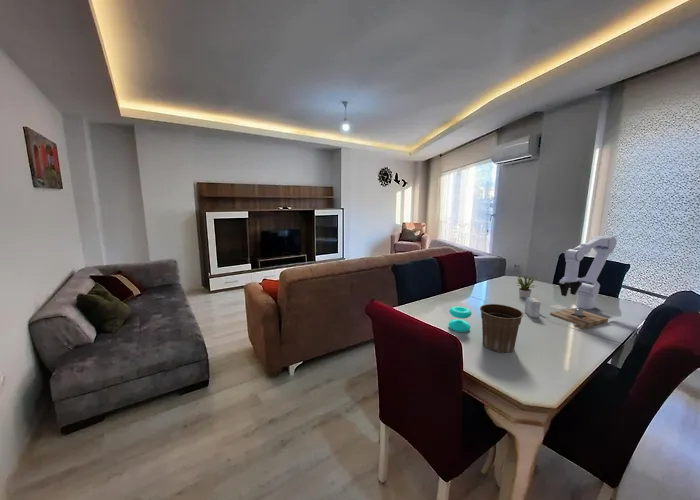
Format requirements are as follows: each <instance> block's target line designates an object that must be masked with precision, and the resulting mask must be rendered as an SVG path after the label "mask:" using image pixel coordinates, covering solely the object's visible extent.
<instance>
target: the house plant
mask: <svg viewBox="0 0 700 500" xmlns="http://www.w3.org/2000/svg"><path fill="white" fill-rule="evenodd" d="M522 276H523V278H524V281H523V280H522V278H521V277H520V276H519V275H517V278H516V279H517V282H516V284H518V285H516V286H517V287H519V288H518V294H519V295H518V297H519V298H524V299H526V298H531V294H532V289H530V288H532V287H535V286H536V285H535V284H533V283H534V281H536V280H541V278H538V277H535V278H534V275H531V276H530V277H529V278H528V279H527V276H526V275H524V274H522ZM531 284H532V285H531ZM536 287H537V286H536Z"/></svg>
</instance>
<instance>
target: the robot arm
mask: <svg viewBox="0 0 700 500" xmlns="http://www.w3.org/2000/svg"><path fill="white" fill-rule="evenodd" d="M616 246H617V238H616V237H615V236H606V235H597V234H594V235H593V236H591V238H590V240H589V241H588V242H587V243H580V244H579V245H578V246H576V247H574V248H569V249H567V250H566V251H565V253H564V258H565V262H566V263H565V268H564V269H565V270H564V276H563V277H562V278H561V279H559V281H558V282H557V285H558V286H559V289H560V294H561V296H562V297H567V296H568V292H569V291H570V295H574V296H575V295H576V303H575V306H576V308H580V309H583V310H584V309H585V310H592V309H595V308H596V307H597V295H598V294H599V292H600V288H601V284H600V283H599V282H598V277H599V276H600V274H601V272H602V269H603V268H604V266H605V264H606V261H607V259H608V257H609V255H610V254H611V253H613V252H614V250H615V249H616ZM592 249H593V250H594V251H595V252H596V254H595V257H594V259H593V261H592V263H591V265H590V267H589V268H588V271H587V273H586V275H585V276H583V277H578V276H579V268H580V262H581V261H582V260H583V259H584V257H585V256H586V255H587V254H590V253H591V251H592ZM569 289H570V290H569Z"/></svg>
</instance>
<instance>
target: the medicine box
mask: <svg viewBox="0 0 700 500" xmlns="http://www.w3.org/2000/svg"><path fill="white" fill-rule="evenodd" d="M540 309H541V302H540V300H538V299H537V298H535V297H529V298H525V305H524V313H526V314H527V315H528V316H529V317H530V318H540V311H541V310H540Z"/></svg>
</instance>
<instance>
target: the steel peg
mask: <svg viewBox="0 0 700 500" xmlns="http://www.w3.org/2000/svg"><path fill="white" fill-rule="evenodd" d="M574 308H575V312H574V316H576V317H579V318H584V317H583V311H584V309H583V308H579V307H574Z"/></svg>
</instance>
